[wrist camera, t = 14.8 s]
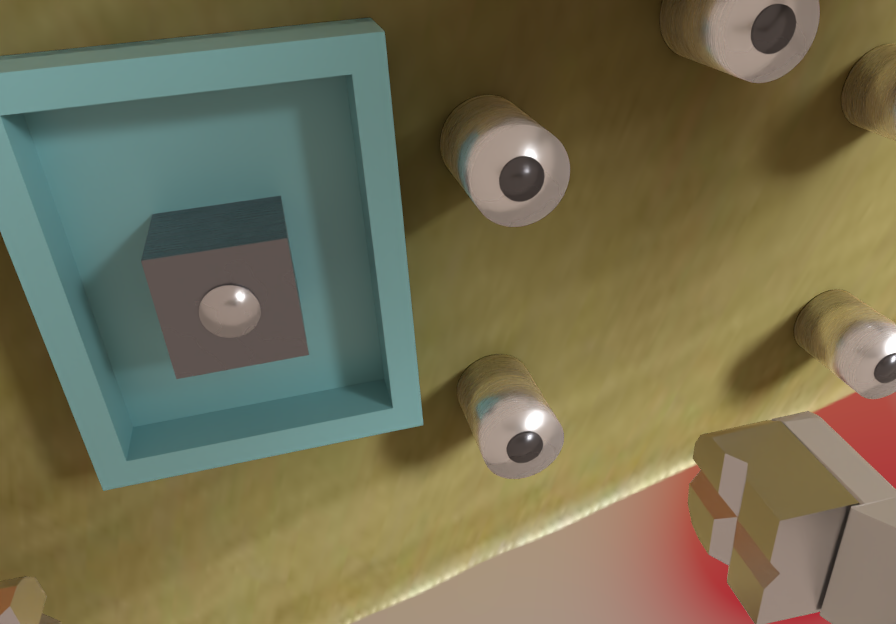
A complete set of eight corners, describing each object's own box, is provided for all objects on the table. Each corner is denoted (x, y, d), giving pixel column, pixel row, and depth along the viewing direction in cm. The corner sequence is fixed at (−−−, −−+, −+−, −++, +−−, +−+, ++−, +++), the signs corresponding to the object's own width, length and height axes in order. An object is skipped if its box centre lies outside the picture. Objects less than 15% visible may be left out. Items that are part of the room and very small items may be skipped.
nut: (280, 195, 28) (287, 239, 24) (300, 302, 30) (309, 356, 27) (152, 214, 27) (140, 262, 24) (182, 322, 29) (176, 380, 26)
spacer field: (950, -65, 30) (1056, -57, 26) (847, 343, 40) (914, 392, 36) (429, -13, 26) (463, 4, 22) (458, 423, 36) (486, 488, 32)
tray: (370, 17, 26) (384, 31, 24) (409, 385, 35) (423, 425, 32) (-30, 59, 24) (-61, 79, 22) (113, 443, 32) (103, 490, 30)
